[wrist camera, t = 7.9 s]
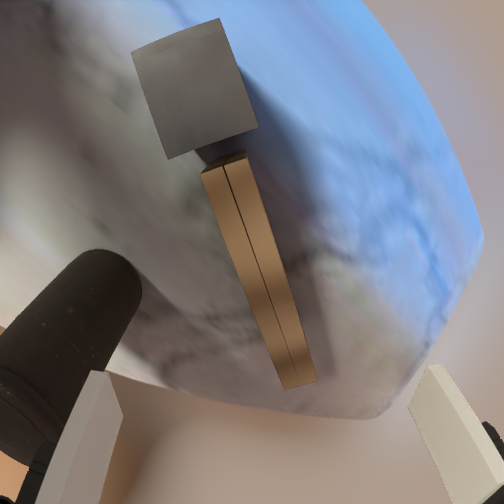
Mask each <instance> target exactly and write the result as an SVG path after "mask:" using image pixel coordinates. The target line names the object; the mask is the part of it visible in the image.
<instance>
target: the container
mask: <svg viewBox="0 0 504 504" xmlns="http://www.w3.org/2000/svg"><path fill="white" fill-rule="evenodd" d="M141 296H142V288H141V283H140V280H139V277H138V275H137V273H136V271H135V270H134V268H133V267H132V266H131V265H130V264H129V262H127V261H126V260H125V259H124V258H123V257H121V256H120V255H118V254H116V253H114V252H111V251H108V250H102V249H94V250H89V251H86V252H84V253H82V254H81V255H79V256H78V257H77V258H75V259H74V260H73V261H72V262H71V263H70V264H69V265H68V266H67V267H66V268H65V269H64V270H63V271H62V272H61V273H60V274H59V275H58V276H57V277H56V278H55V279H54V280H53V281H52V282H51V283H50V284H49V285H48V286H47V287H46V288H45V289H44V290H43V291H42V292H41V293H40V294H39V295H38V296H37V297H36V298H35V299H34V300H33V301H32V302H31V303H30V304H29V305H28V306H27V307H26V308H25V309H24V310H23V311H22V312H21V314H19V315H18V316H17V317H16V319H15V320H14V321H13V322H12V323H11V324H10V325H9V326H8V328H7V329H6V330H5V331H4V332H3V333H2V334H1V335H0V450H1V451H2V452H3V453H5V454H7V455H8V456H9V457H11V458H13V459H15V460H16V461H18V462H20V463H22V464H24V465H26V466H28V467H30V464H31V462H33V457H34V455H35V453H36V451H37V449H38V448H39V447H40V446H41V445H42V444H43V443H44V442H45V441H46V440H48V441H51V442H55V443H58V442H59V440H60V437H61V435H62V433H63V430H64V428H65V426H66V423H67V421H68V419H69V417H70V414H71V412H72V410H73V408H74V405H75V403H76V401H77V399H78V397H79V395H80V392H81V390H82V388H83V386H84V384H85V382H86V380H87V378H88V376H89V374H90V372H91V370H93V371H100V372H104V370H105V368H106V366H107V364H108V362H109V360H110V358H111V356H112V354H113V352H114V351H115V349H116V347H117V345H118V343H119V341H120V339H121V337H122V336H123V334H124V332H125V330H126V328H127V326H128V324H129V323H130V321H131V319H132V317H133V316H134V314H135V312H136V310H137V308H138V306H139V304H140V301H141Z"/></svg>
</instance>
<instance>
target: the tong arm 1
mask: <svg viewBox="0 0 504 504" xmlns="http://www.w3.org/2000/svg"><path fill="white" fill-rule="evenodd" d="M227 159H228V156H226V157H223V158H220V159H217V160H214V161H212V162H211V163H210V164H209V165H208V166H207V167H206V168H205V169H204V170H203V171H202V172H201V174H200V177H201V179H202V182H203V185H204V187H205V190H206V193H207V195H208V198H209V201H210V203H211V206H212V209H213V211H214V214H215V217H216V219H217V222H218V224H219V227H220V230H221V232H222V235H223V237H224V240H225V243H226V245H227V248H228V250H229V253H230V256H231V258H232V261H233V263H234V266H235V268H236V271H237V274H238V276H239V279H240V281H241V284H242V286H243V289H244V291H245V294H246V296H247V299H248V301H249V304H250V306H251V309H252V311H253V314H254V317H255V319H256V322H257V324H258V326H259V329H260V331H261V334H262V336H263V339H264V341H265V344H266V346H267V349H268V351H269V354H270V356H271V359H272V361H273V364H274V366H275V368H276V371H277V373H278V376H279V378H280V381H281V383H282V385H283V388H284V390H287V389H291V388H294V387H298V386H301V384H300V381H299V378H298V376H297V373H296V370H295V367H294V364H293V361H292V358H291V356H290V353H289V350H288V347H287V344H286V341H285V338H284V336H283V333H282V330H281V327H280V324H279V321H278V318H277V316H276V313H275V310H274V307H273V304H272V301H271V298H270V296H269V293H268V290H267V287H266V284H265V281H264V279H263V276H262V273H261V270H260V267H259V264H258V261H257V259H256V256H255V253H254V250H253V247H252V244H251V242H250V239H249V236H248V233H247V230H246V227H245V224H244V222H243V219H242V216H241V213H240V210H239V207H238V205H237V202H236V199H235V196H234V193H233V190H232V188H231V185H230V182H229V179H228V176H227V173H226V171H225V168H224V165H225V163H226V161H227Z"/></svg>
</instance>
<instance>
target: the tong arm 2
mask: <svg viewBox="0 0 504 504" xmlns="http://www.w3.org/2000/svg"><path fill="white" fill-rule="evenodd" d="M224 168H225V171H226V173H227V176H228V179H229V182H230V185H231V188H232V190H233V193H234V196H235V199H236V202H237V205H238V207H239V210H240V213H241V216H242V219H243V222H244V224H245V227H246V230H247V233H248V236H249V239H250V242H251V244H252V247H253V250H254V253H255V256H256V259H257V261H258V264H259V267H260V270H261V273H262V276H263V279H264V281H265V284H266V287H267V290H268V293H269V296H270V298H271V301H272V304H273V307H274V310H275V313H276V316H277V318H278V321H279V324H280V327H281V330H282V333H283V336H284V338H285V341H286V344H287V347H288V350H289V353H290V356H291V358H292V361H293V364H294V367H295V370H296V373H297V376H298V378H299V381H300V384H301V385H305V384H308V383H312V382H315V381H317V377H316V374H315V370H314V366H313V363H312V359H311V356H310V352H309V349H308V345H307V341H306V338H305V334H304V331H303V327H302V324H301V321H300V318H299V314H298V311H297V308H296V304H295V301H294V298H293V295H292V292H291V288H290V285H289V282H288V279H287V276H286V272H285V269H284V266H283V263H282V260H281V257H280V253H279V250H278V247H277V244H276V241H275V238H274V235H273V232H272V228H271V225H270V222H269V219H268V216H267V213H266V210H265V207H264V204H263V201H262V198H261V195H260V192H259V189H258V186H257V183H256V180H255V177H254V174H253V171H252V168H251V165H250V162H249V159H248V156H247V153H246V150H244V151H241V152H238V153H235V154H232V155H229V157H228V159H227V161H226V163H225V165H224Z"/></svg>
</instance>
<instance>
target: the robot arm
mask: <svg viewBox="0 0 504 504" xmlns="http://www.w3.org/2000/svg"><path fill="white" fill-rule="evenodd" d="M408 409H409V411H410V413H411V415H412V417H413V419H414V421H415V423H416V425H417V427H418V429H419V431H420V433H421V435H422V437H423V439H424V442H425V444H426V446H427V448H428V450H429V452H430V454H431V456H432V458H433V460H434V463H435V465H436V467H437V469H438V471H439V474H440V476H441V478H442V480H443V482H444V485H445V487H446V489H447V492H448V494H449V496H450V499H451V501H452V503H453V504H504V443H503V441H502V439H500V436H499V435H498V433H497V431H496V430H495V428H494V427H492V426H491V425H490V424H489V423H487V422H483V423H480V421H479V419H478V418H477V416H476V415H475V413H474V412H473V410H472V408H471V407H470V406H469V404H468V402H467V401H466V399H465V398H464V396H463V395H462V393H461V392H460V390H459V389H458V387H457V386H456V384H455V383H454V382H453V380H452V379H451V377H450V376H449V374H448V373H447V371H446V370H445V369H444V367H443V366H442V364H441V363H439V364H433V365H428V366H427V367H426V370H425V372H424V375H423V377H422V379H421V381H420V383H419V385H418V388H417V390H416V392H415V394H414V396H413V398H412V400H411V402H410V404H409V406H408ZM122 418H123V414H122V412H121V409H120V406H119V404H118V401H117V398H116V395H115V392H114V389H113V387H112V383H111V380H110V377H109V374H108V373H107V372H100V371H93V370H91V372H90V374H89V376H88V378H87V380H86V382H85V384H84V386H83V388H82V390H81V392H80V395H79V397H78V399H77V401H76V403H75V405H74V408H73V410H72V412H71V414H70V417H69V419H68V421H67V423H66V426H65V428H64V430H63V433H62V435H61V437H60V440H59V442H58V443H55V442H51V441H48V440H46V441H45V442H44V443H43V444H42V445H41V446H40V447H39V448H38V449H37V451H36V453H35V455H34V457H33V462H31V464H30V467H29V471H28V472H27V474H26V477H25V479H24V481H23V484H22V487H21V489H20V492H19V494H18V497H17V500H16V501H15V503H14V502H13V501H12V500H10V499H9V498H8V497H5V496H2V495H1V496H0V504H99V500H100V496H101V492H102V488H103V485H104V481H105V477H106V473H107V470H108V466H109V462H110V459H111V455H112V451H113V448H114V445H115V441H116V438H117V435H118V431H119V428H120V425H121V421H122Z"/></svg>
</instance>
